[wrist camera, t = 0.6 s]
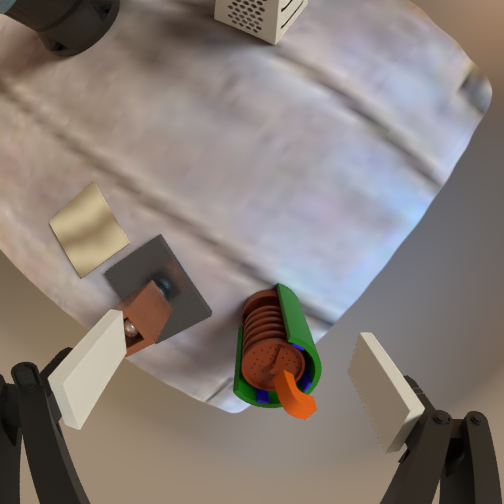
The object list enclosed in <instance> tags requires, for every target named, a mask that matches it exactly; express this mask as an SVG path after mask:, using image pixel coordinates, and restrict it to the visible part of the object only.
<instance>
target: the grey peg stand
mask: <svg viewBox="0 0 504 504" xmlns="http://www.w3.org/2000/svg"><path fill="white" fill-rule="evenodd" d="M105 274H106V276H107V278H108V279H109V281H110V282H111V284H112V285H113V287H114V288H115V290H116V291H117V293H118V294H119V295H120V297H121V298H122V300H123V299H124V298H125V297H126V296H127V295H129V294H130V293H132V292H134V291H135V290H137V289H138V288H140V287H142V286H143V285H145V284H146V283H148V282H150V281H151V280H153V281H154V282H155V284H156V285H157V287H158V288H159V290H160V291H161V293H162V294H163V295H164V297H165V298H166V300H167V301H168V303H169V304H170V305H171V307H172V308H173V311H172V312H171V314H170V316H169V318H168V320H167V322H166V324H165V325H164V327H163V329H162V331H161V333H160V335H159V337H158V339H157V340H156V342H155V344H157V343H159V342H161V341H163V340H165V339H167V338H169V337H171V336H173V335H175V334H177V333H179V332H181V331H183V330H185V329H187V328H189V327H191V326H193V325H195V324H197V323H199V322H200V321H202V320H204V319H206V318H208V317H210V316H211V315H212V310H211V309H210V307H209V306H208V305H207V303H206V302H205V300H204V299H203V297H202V296H201V294H200V293H199V291H198V290H197V289H196V287H195V286H194V284H193V283H192V281H191V280H190V278H189V277H188V275H187V274H186V272H185V271H184V269H183V268H182V266H181V265H180V263H179V261H178V260H177V258H176V257H175V255H174V254H173V252H172V251H171V249H170V247H169V246H168V244H167V243H166V241H165V240H164V238H163V236H162V235H161V234H160V235H159V236H157V237H156V238H154V239H153V240H151V241H150V242H148V243H147V244H145V245H144V246H142V247H141V248H139V249H138V250H136V251H135V252H133V253H132V254H130V255H129V256H128V257H126V258H125V259H123V260H122V261H120V262H119V263H118V264H116V265H115V266H113V267H112V268H111V269H109V270H108V271H106V272H105ZM123 324H124V334H126V335H127V336H129V337H134V336H136V335H137V333H138V332H139V331H138V330H137V329H136V327H135V326H134V325H133V323H132V322H131V321H130V319H129V318H127V320H126V321H125V322H124V323H123Z"/></svg>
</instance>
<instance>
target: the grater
mask: <svg viewBox="0 0 504 504" xmlns="http://www.w3.org/2000/svg"><path fill="white" fill-rule="evenodd" d="M243 1H247V2H248V3H249V5H245V4H244V3H243ZM256 1H260V2H262V4H263V5H258V4H257V3H256ZM232 2H236V3H237V4H238V5H237V6H234V5H233V4H232ZM289 2H290V0H267V1H262V0H254V2H251V1H249V0H241V2H237V1H236V0H216V2H215V14H214V19H215V20H218V21H221V22H223V23H226V24H228V25H231V26H233V27H236V28H238V29H240V30H243V31H245V32H247V33H249V34H252V35H254V36H256V37H258V38H260V39H262V40H265V41H267V42H269V43H271V44H273V45H276V44H277V42H278V41H279V40H280V38H281V37H282V36H283V34H284V33H285V32H286V31H287V29H288V28H289V27H290V25H291V24H292V23H293V22H294V20H295V19H296V18H297V17H298V15H299V14H300V13H301V12H302V11H303V9H304V8H305V7H306V6H307V4H308V0H293V1H292V2H291V3H290V4H289V5H288V7H287V8H286V9H285V10H284V11H283V12H281V9H282V8H284V7H285V6H286V5H287V4H288V3H289ZM302 2H303V3H302ZM301 3H302V5H301V6H300V8H299V9H298V10H297V11H296V12H295V10H296V9H297V8H298V7H299V5H300V4H301ZM251 4H255V5H256V6H257V8H253V7H252V6H251ZM228 5H230V6H232V7H233V9H229V8H228ZM239 5H244V6H245V9H242V8H241V7H240V6H239ZM259 7H262V8H264V9H265V12H262V11H260V10H259ZM235 8H238V9H239V10H240V12H237V11H236V10H235ZM247 8H251V9H252V10H253V12H250V11H248V10H247ZM243 11H246V12H247V13H248V15H244V14H243ZM255 11H259V12H260V13H261V15H257V14H256V13H255ZM232 12H236V13H237V16H235V15H233V14H232ZM294 12H295V14H294V15H293V16H292V17H291V19H290V20H289V21H288V22H287V24H286V25H285V26H284V27H283V28H282V29H281V26H282V25H284V24H285V23H286V21H287V20H288V19H289V18H290V16H291V15H292V14H293V13H294ZM228 14H231V15H232V16H233V18H230V17H229V16H228ZM240 14H241V15H243V16H244V18H240V17H239V15H240ZM250 14H253V15H254V16H255V17H256V18H252V17H250ZM235 17H238V18H239V19H240V21H238V20H236V19H235ZM258 17H259V18H262V19H263V22H261V21H259V20H258V19H257V18H258ZM246 18H250V19H251V20H252V21H251V22H250V21H248V20H247V19H246ZM232 20H235V21H236V22H237V24H234V23H233V22H232ZM242 20H245V21H247V24H245V23H243V22H242ZM254 21H257V22H259V25H257V24H255V23H254ZM239 23H242V24H243V25H244V26H243V27H242V26H240V25H239ZM249 23H252V24H254V27H252V26H250V25H249ZM246 26H249V27H250V28H251V30H249V29H247V28H246ZM256 26H259V27H261V30H258V29H257V28H256ZM253 29H256V30H257V31H258V33H255V32H254V31H253Z"/></svg>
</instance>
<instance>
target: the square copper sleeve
mask: <svg viewBox="0 0 504 504" xmlns="http://www.w3.org/2000/svg"><path fill="white" fill-rule="evenodd" d="M114 310H118V311H122V312H123V323H124V322H125V321H126V320H127V318H129V319H130V321H131V322H132V323H133V325H134V326H135V327H136V329H137V330H138V331H139V332H138V333H137V335H136V336H134V337H129V336H127V335H126V334H125V343H126V351H127V353H126V354H125V357H127V356H129V355H132V354H134V353H136V352H138V351H140V350H142V349H144V348H146V347H148V346H150V345H152V344H154V343H155V342H156V340H157V339H158V337H159V335H160V333H161V331H162V329H163V327H164V325H165V324H166V322H167V320H168V318H169V316H170V314H171V312H172V311H173V308H172V307H171V305H170V304H169V303H168V301H167V300H166V298H165V297H164V295H163V294H162V293H161V291H160V290H159V288H158V287H157V285H156V284H155V282H154V281H153V280H151V281H150V282H148V283H146V284H145V285H143V286H142V287H140V288H138V289H137V290H135V291H134V292H132V293H130V294H129V295H127V296H126V297H125V298H124V299H123V300H122V301H121V302H120V303H119V304H118V306H117V307H116V308H115V309H114Z"/></svg>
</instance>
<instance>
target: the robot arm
mask: <svg viewBox="0 0 504 504" xmlns="http://www.w3.org/2000/svg"><path fill="white" fill-rule="evenodd" d="M119 6H120V3H119V0H0V14H4V15H6V16H8V17H10V18H12V19H14V20H16V21H18V22H20V23H22V24H24V25H25V26H27V27H29V28H31V29H33V30H35V31H36V32H37V33H38V35H39V37H40V38H41V40H42V42H43V44H44V45H45V47H46V48H47V49H48V50H49V51H50V52H52V53H54V54H56V55H58V56H72V55H75V54H78V53H80V52H82V51H84V50H86V49H87V48H89V47H90V46H92V45H93V44H94V43H96V42H97V41H98V40H99V39H100V38H101V37H102V36H103V35H104V34H105V33H106V32H107V31H108V29H109V28H110V27H111V25H112V24H113V22H114V21H115V19H116V17H117V14H118V11H119ZM126 353H127V351H126V343H125V334H124V324H123V312H122V311H118V310H113V309H110V310H109V311H108V312H107V313H106V314H105V315H104V316H103V317H102V318H101V319H100V320H99V322H98V323H97V324H96V325H95V326H94V327H93V328H92V329H91V330H90V331H89V332H88V333H87V334H86V336H85V337H84V338H83V339H82V340H81V341H80V342H79V343H78V344H77V345H76V346H75V348H74V349H73V348H70V347H67V348H65V349H64V350H62V351H60V352H59V353H58V354H57V355H56V356H55V358H53V360H52V361H51V362H50V363H49V364H48V365H47V366H46V367H45V368H44V369H43V370H42V371H41V373H40V374H39V371H38V368H37V366H36V365H35V364H33V363H31V362H21V363H18V364H17V365H15V366H14V367H13V368H12V369H11V375H12V378H13V380H14V383H15V384H9V383H5V380H4V378H3V376H2V375H1V374H0V504H20V485H19V484H20V455H21V441H22V434H23V440H24V445H25V450H26V455H27V459H28V463H29V468H30V472H31V475H32V479H33V482H34V486H35V489H36V492H37V496H38V499H39V502H40V504H90V502H89V500H88V498H87V496H86V493H85V491H84V489H83V487H82V485H81V483H80V480H79V478H78V476H77V473H76V470H75V468H74V465H73V463H72V460H71V457H70V454H69V452H68V449H67V446H66V443H65V440H64V437H63V434H62V431H61V427H60V425H59V422H58V421H59V420H60V418H61V417H62V418H63V420H64V422H65V424H66V425H67V426H70V427H73V428H75V429H78V430H80V429H81V427H82V425H83V424H84V422H85V420H86V418H87V417H88V415H89V413H90V412H91V410H92V408H93V406H94V405H95V403H96V401H97V400H98V398H99V396H100V394H101V393H102V391H103V390H104V388H105V387H106V385H107V383H108V382H109V380H110V378H111V377H112V375H113V373H114V372H115V370H116V368H117V367H118V365H119V364H120V362H121V361H122V359H123V357H124V356H125V354H126ZM348 373H349V376H350V378H351V380H352V382H353V384H354V386H355V388H356V390H357V393H358V395H359V396H360V399H361V401H362V403H363V405H364V408H365V410H366V412H367V414H368V416H369V419H370V421H371V423H372V425H373V427H374V430H375V432H376V434H377V436H378V439H379V441H380V443H381V445H382V447H383V450H384V452H385V453H390V452H395V451H399V450H400V449H401V447H402V446H403V444H404V443H406V445H407V447H408V448H407V450H406V451H405V453H404V454H403V455H402V457H401V459H400V460H399V461H398V462H399V463H400V464H399V467H398V469H397V471H396V473H395V475H394V477H393V479H392V481H391V483H390V485H389V487H388V489H387V491H386V493H385V495H384V497H383V499H382V501H381V502H380V504H432V501H433V498H434V495H435V492H436V489H437V486H438V483H439V480H440V500H439V504H502V498H501V488H500V481H499V473H498V467H497V461H496V456H495V451H494V446H493V442H492V437H491V432H490V428H489V425H488V420H487V418H486V417H485V416H484V415H483V414H482V413H480V412H477V411H470V412H469V413H467V415H466V416H465V418H464V419H452V417H451V416H450V415H449V414H448V413H447V412H444V411H442V410H435V408H434V407H433V406H432V404H431V403H430V401H429V400H428V398H427V397H426V396H425V394H423V391H422V390H421V389H419V386H418V384H417V383H416V382H415V381H414V380H413V379H411V378H410V377H409V376H408V375H407V376H402V374H401V373H400V371H399V370H398V369H397V367H396V366H395V364H394V363H393V362H392V360H391V359H390V357H389V356H388V355H387V353H386V352H385V351H384V349H383V348H382V346H381V345H380V344H379V342H378V341H377V340H376V338H375V337H374V336H373V334H372V333H359V336H358V340H357V344H356V347H355V350H354V353H353V356H352V360H351V363H350V366H349V369H348Z"/></svg>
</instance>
